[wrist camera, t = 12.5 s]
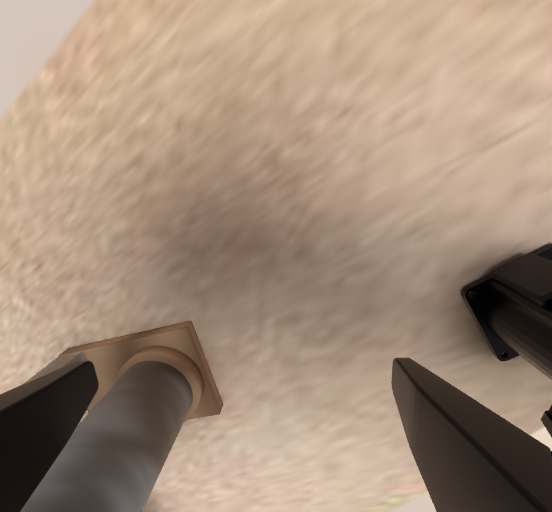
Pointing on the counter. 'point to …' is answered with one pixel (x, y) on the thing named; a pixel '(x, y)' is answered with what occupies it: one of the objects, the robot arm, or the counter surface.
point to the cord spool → (123, 437)
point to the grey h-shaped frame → (121, 349)
